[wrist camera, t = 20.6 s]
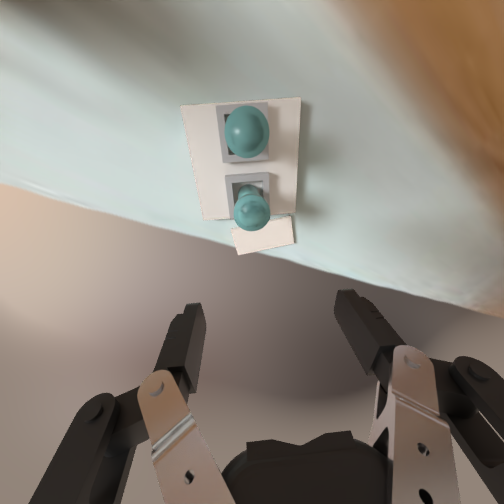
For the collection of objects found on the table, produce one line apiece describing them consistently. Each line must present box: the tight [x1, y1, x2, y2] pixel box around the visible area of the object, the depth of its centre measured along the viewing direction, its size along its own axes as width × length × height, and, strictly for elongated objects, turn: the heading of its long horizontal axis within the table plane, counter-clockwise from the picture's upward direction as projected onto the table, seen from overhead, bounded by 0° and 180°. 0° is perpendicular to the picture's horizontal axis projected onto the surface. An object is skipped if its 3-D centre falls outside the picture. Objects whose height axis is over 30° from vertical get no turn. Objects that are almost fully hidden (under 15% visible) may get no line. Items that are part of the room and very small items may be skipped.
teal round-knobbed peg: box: [234, 184, 270, 231], centre depth 30 cm, size 5×5×10 cm
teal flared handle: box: [224, 105, 270, 158], centre depth 25 cm, size 5×5×10 cm
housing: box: [180, 97, 301, 221], centre depth 32 cm, size 17×17×4 cm
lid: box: [231, 215, 294, 255], centre depth 40 cm, size 12×6×1 cm, turn 102°
